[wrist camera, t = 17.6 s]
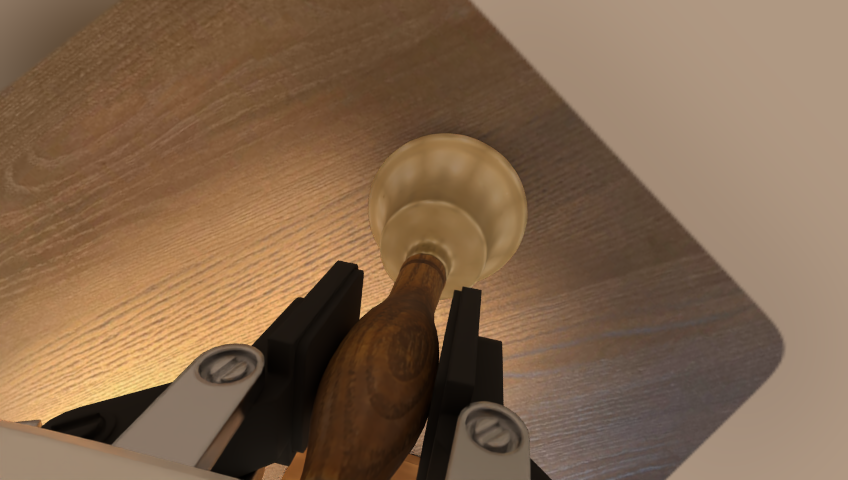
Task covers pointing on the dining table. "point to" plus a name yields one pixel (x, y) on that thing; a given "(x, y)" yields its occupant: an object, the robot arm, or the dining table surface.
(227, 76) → the dining table surface
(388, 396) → the hand bell
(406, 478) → the cabinet
